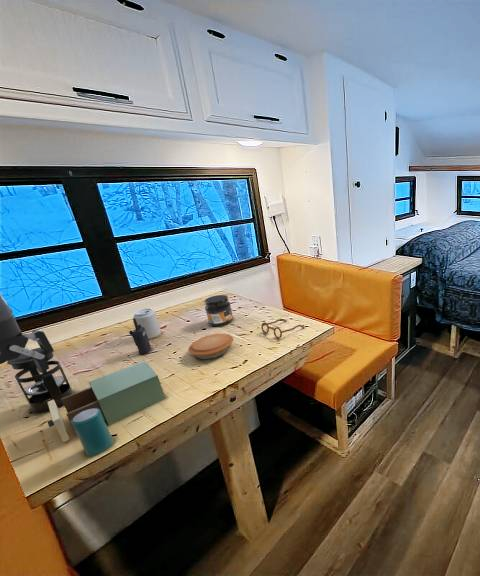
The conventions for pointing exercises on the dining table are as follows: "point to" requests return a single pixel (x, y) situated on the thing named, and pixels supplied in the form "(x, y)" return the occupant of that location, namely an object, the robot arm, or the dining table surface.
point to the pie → (211, 346)
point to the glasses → (277, 328)
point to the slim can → (92, 431)
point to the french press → (41, 382)
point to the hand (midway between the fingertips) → (18, 382)
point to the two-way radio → (140, 338)
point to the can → (148, 322)
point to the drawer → (72, 409)
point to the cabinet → (127, 391)
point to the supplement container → (218, 310)
